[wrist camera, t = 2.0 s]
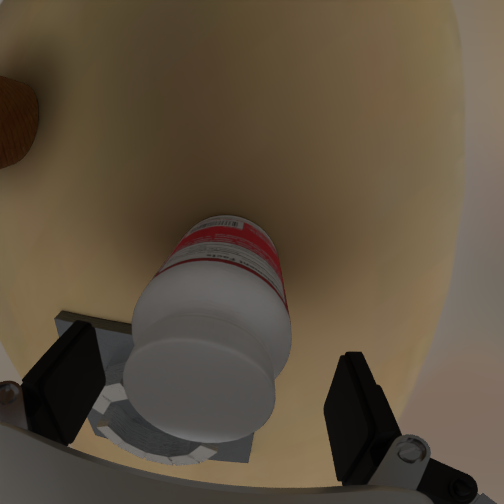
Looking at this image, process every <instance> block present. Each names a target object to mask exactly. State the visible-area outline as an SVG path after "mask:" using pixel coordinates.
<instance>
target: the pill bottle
mask: <svg viewBox="0 0 504 504" xmlns="http://www.w3.org/2000/svg"><path fill="white" fill-rule="evenodd" d="M132 337H133V341H134V347H133V350H132V352H131V354H130V356H129V358H128V360H127V362H126V364H125V367H124V371H123V385H124V389H125V393H126V395H127V397H128V399H129V401H130V403H131V404H132V406H133V407H134V408H135V410H136V411H137V412H138V413H139V414H140V415H141V416H142V417H143V418H144V419H145V420H147V421H148V422H149V423H151V424H152V425H153V426H155V427H156V428H158V429H160V430H162V431H164V432H166V433H168V434H170V435H173V436H176V437H179V438H182V439H185V440H190V441H195V442H203V443H221V442H228V441H233V440H237V439H240V438H243V437H245V436H248V435H250V434H251V433H253V432H255V431H257V430H258V429H259V428H261V427H262V426H263V425H264V424H265V423H266V422H267V420H268V419H269V417H270V416H271V414H272V412H273V409H274V405H275V382H274V380H275V379H276V377H277V376H278V375H279V374H280V372H281V371H282V369H283V368H284V366H285V364H286V362H287V360H288V357H289V354H290V349H291V341H292V333H291V323H290V317H289V311H288V306H287V301H286V295H285V289H284V284H283V279H282V273H281V268H280V263H279V258H278V254H277V251H276V248H275V246H274V244H273V242H272V240H271V239H270V237H269V236H268V235H267V234H266V232H265V231H264V230H263V229H261V228H260V227H259V226H257V225H256V224H255V223H253V222H251V221H249V220H247V219H244V218H241V217H237V216H231V215H221V216H215V217H211V218H208V219H205V220H203V221H201V222H199V223H198V224H196V225H195V226H193V227H192V228H191V229H190V230H189V231H188V232H187V233H186V234H185V235H184V237H183V238H182V239H181V240H180V242H179V243H178V245H177V246H176V247H175V249H174V250H173V252H172V253H171V254H170V256H169V257H168V258H167V260H166V261H165V262H164V264H163V265H162V266H161V268H160V269H159V271H158V272H157V273H156V275H155V276H154V277H153V279H152V280H151V281H150V283H149V284H148V285H147V287H146V288H145V290H144V291H143V293H142V294H141V296H140V298H139V300H138V302H137V304H136V306H135V309H134V313H133V318H132Z"/></svg>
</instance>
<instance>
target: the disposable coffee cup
mask: <svg viewBox="0 0 504 504" xmlns="http://www.w3.org/2000/svg"><path fill="white" fill-rule="evenodd" d="M37 125H38V103H37V99H36V96H35V93H34V92H33V90H32V89H31V88H30V87H29V86H28V85H26V84H24V83H21V82H18V81H15V80H12V79H9V78H6V77H3V76H0V169H2V168H5V167H8V166H10V165H13V164H15V163H17V162H18V161H20V160H21V159H22V158H23V157H24V156H25V155H26V153H27V152H28V150H29V148H30V147H31V145H32V143H33V140H34V137H35V134H36V130H37Z"/></svg>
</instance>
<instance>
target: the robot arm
mask: <svg viewBox="0 0 504 504" xmlns="http://www.w3.org/2000/svg"><path fill="white" fill-rule="evenodd" d="M22 382H23V383H22V384H21V386H20V385H19V384H18V383H16V382H14V381H3V382H0V504H497V503H495V502H494V501H493V500H491V499H490V498H489V497H488V496H486V495H485V494H484V493H482V494H481V495H479V494H478V493H477V492H478V488H477V483H476V481H475V480H474V479H473V478H472V477H471V476H470V475H468V474H465V473H463V472H461V471H459V470H456V469H454V468H452V467H450V466H447V465H445V464H443V463H441V462H439V461H436V460H434V459H432V458H430V455H431V451H430V447H429V446H428V444H427V442H426V441H424V440H423V439H422V438H420V437H419V436H415V435H409V434H406V435H402V434H401V431H400V429H399V427H398V424H397V422H396V420H395V417H394V415H393V413H392V410H391V408H390V406H389V403H388V401H387V399H386V397H385V394H384V392H383V390H382V388H381V386H380V385H377V384H376V382H375V380H374V378H373V375H372V373H371V371H370V369H369V366H368V364H367V362H366V360H365V358H364V355H363V353H362V352H346V353H345V355H341V356H340V359H339V362H338V365H337V368H336V371H335V374H334V378H333V381H332V384H331V387H330V390H329V392H328V395H327V398H326V401H325V404H324V416H325V421H326V426H327V431H328V436H329V441H330V446H331V451H332V456H333V461H334V466H335V472H336V477H337V480H338V481H342V485H343V486H333V487H313V488H267V487H247V486H234V485H224V484H215V483H207V482H200V481H193V480H187V479H181V478H176V477H171V476H166V475H161V474H156V473H152V472H147V471H143V470H139V469H135V468H132V467H128V466H124V465H121V464H117V463H114V462H110V461H107V460H104V459H101V458H98V457H95V456H92V455H89V454H86V453H83V452H81V451H78V450H75V449H73V448H70V447H67V446H68V444H71V443H73V441H74V440H75V438H76V436H77V434H78V432H79V430H80V429H81V427H82V425H83V423H84V421H85V420H86V418H87V416H88V414H89V412H90V411H91V409H92V407H93V405H94V404H95V402H96V400H97V399H98V397H99V395H100V393H101V392H102V390H103V388H104V386H105V384H106V376H105V372H104V368H103V364H102V359H101V355H100V350H99V345H98V340H97V335H96V330H95V328H94V327H92V324H91V323H90V322H86V321H82V320H76V321H75V322H74V323H73V324H72V325H71V326H70V327H69V328H68V329H67V330H66V331H65V332H64V333H63V334H62V336H61V337H60V338H59V339H58V340H57V341H56V342H55V343H54V344H53V345H52V346H51V347H50V348H49V350H48V351H47V352H46V353H45V354H44V355H43V356H42V357H41V358H40V360H39V361H38V362H37V363H36V364H35V365H34V366H33V367H32V369H31V370H30V371H29V372H28V373H27V374H26V376H25V377H24V378H23V379H22Z"/></svg>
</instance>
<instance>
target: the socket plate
mask: <svg viewBox="0 0 504 504" xmlns="http://www.w3.org/2000/svg"><path fill="white" fill-rule="evenodd" d="M54 319H55V323H56V327H57V331H58V335H59V338H60V337H61V336H62V334H63V333H64V332H65V331H66V330H67V329H68V328H69V327H70V326H71V325H72V324H73V323H74V322H75V321H76V320H82V321H86V322H90V323H91V324H92V327H94V328H95V330H96V335H97V340H98V345H99V350H100V355H101V359H102V364H103V368H104V372H105V376H106V384H105V386H104V388H103V390H102V392H101V393H100V395H99V397H98V399H97V400H96V402H95V404H94V405H93V407H92V409H91V411H90V412H89V414H88V416H87V417H88V420H89V422H90V424H91V426H92V429H93V431H94V433H95V435H97V436H100V437H104V438H107V439H109V440H110V441H112V442H113V443H114V444H118V447H120V448H122V449H124V450H126V451H128V452H130V453H132V454H134V455H136V456H138V457H140V458H142V459H143V458H144V457H145V459H146V460H149V461H153V462H158V463H163V464H168V465H173V464H175V465H176V466H177V465H188V464H197V463H200V462H204V461H205V460H207V459H209V460H218V461H228V462H240V463H248V462H249V456H250V451H251V445H252V440H253V434H254V432H253V433H251V434H250V435H248V436H245V437H243V438H240V439H237V440H233V441H228V442H221V443H203V442H195V441H190V440H185V439H182V438H179V437H176V436H173V435H170V434H168V433H166V432H164V431H162V430H160V429H158V428H156V427H155V426H153V425H152V424H151V423H149V422H148V421H147V420H145V419H144V418H143V417H142V416H141V415H140V414H139V413H138V412H137V411H136V410H135V408H134V407H133V406H132V404H131V403H130V401H129V399H128V397H127V395H126V393H125V389H124V385H123V371H124V367H125V364H126V362H127V360H128V358H129V356H130V354H131V352H132V350H133V347H134V341H133V337H132V324H126V323H120V322H115V321H109V320H104V319H99V318H94V317H89V316H84V315H79V314H74V313H70V312H65V311H61V312H60V313H59V314H58V315H57V316H56V317H55V318H54Z"/></svg>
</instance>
